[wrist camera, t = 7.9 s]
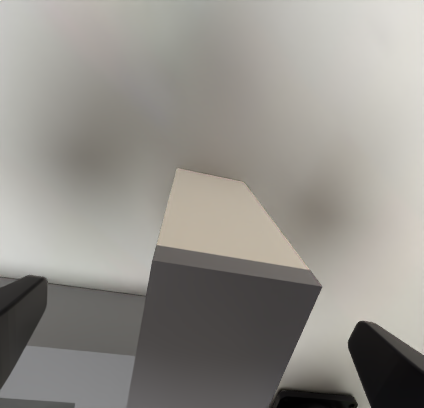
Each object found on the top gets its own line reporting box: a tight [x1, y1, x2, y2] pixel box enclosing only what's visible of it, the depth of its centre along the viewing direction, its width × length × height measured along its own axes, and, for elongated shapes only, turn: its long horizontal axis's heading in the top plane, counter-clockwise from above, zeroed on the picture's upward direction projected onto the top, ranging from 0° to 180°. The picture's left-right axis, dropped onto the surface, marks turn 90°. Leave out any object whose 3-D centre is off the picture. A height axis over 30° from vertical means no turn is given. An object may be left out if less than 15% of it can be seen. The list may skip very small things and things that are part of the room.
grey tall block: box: [126, 168, 322, 408], centre depth 10 cm, size 4×4×9 cm
